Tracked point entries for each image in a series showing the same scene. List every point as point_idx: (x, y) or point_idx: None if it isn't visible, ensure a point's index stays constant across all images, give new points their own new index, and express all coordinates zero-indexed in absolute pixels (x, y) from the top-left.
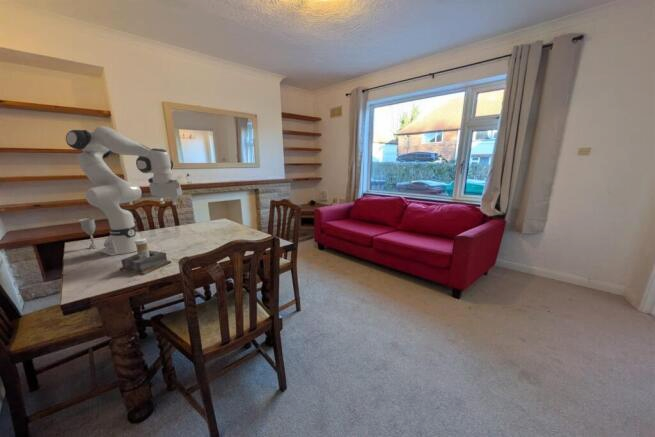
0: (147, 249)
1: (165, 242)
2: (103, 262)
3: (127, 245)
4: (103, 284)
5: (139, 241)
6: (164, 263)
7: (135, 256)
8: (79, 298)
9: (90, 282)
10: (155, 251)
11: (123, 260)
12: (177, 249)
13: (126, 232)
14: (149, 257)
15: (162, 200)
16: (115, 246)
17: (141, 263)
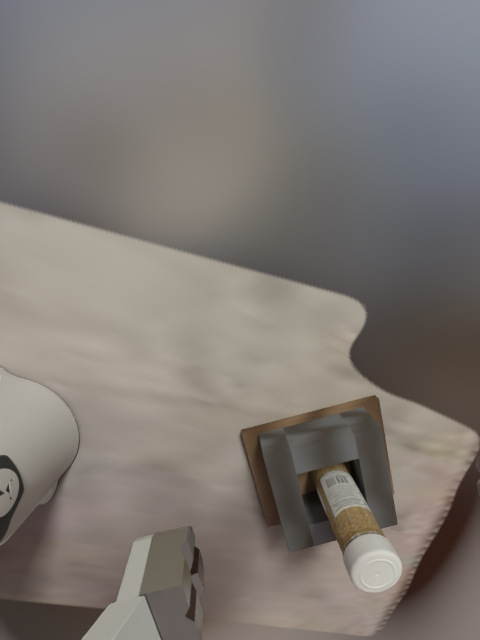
0: (368, 508)
1: (44, 278)
2: (117, 531)
3: (51, 470)
4: (342, 571)
5: (396, 581)
6: (380, 424)
7: (301, 512)
8: (377, 617)
9: (289, 587)
10: (318, 445)
11: (302, 547)
12: (234, 301)
13: (2, 523)
14: (371, 486)
15: (152, 616)
16: (30, 511)
17: (395, 517)
